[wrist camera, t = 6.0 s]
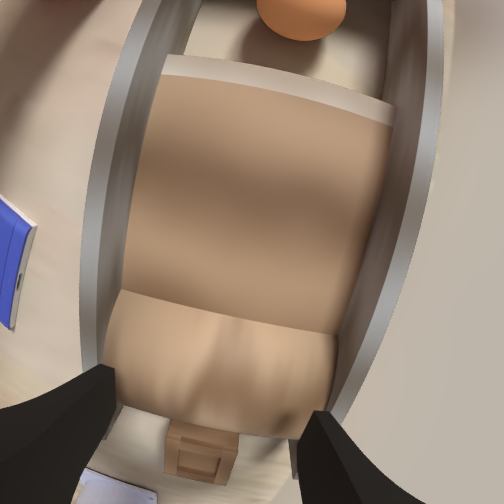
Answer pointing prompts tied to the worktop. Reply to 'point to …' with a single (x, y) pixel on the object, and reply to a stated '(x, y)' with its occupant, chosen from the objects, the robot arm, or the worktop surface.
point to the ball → (302, 17)
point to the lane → (252, 225)
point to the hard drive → (13, 257)
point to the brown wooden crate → (200, 452)
